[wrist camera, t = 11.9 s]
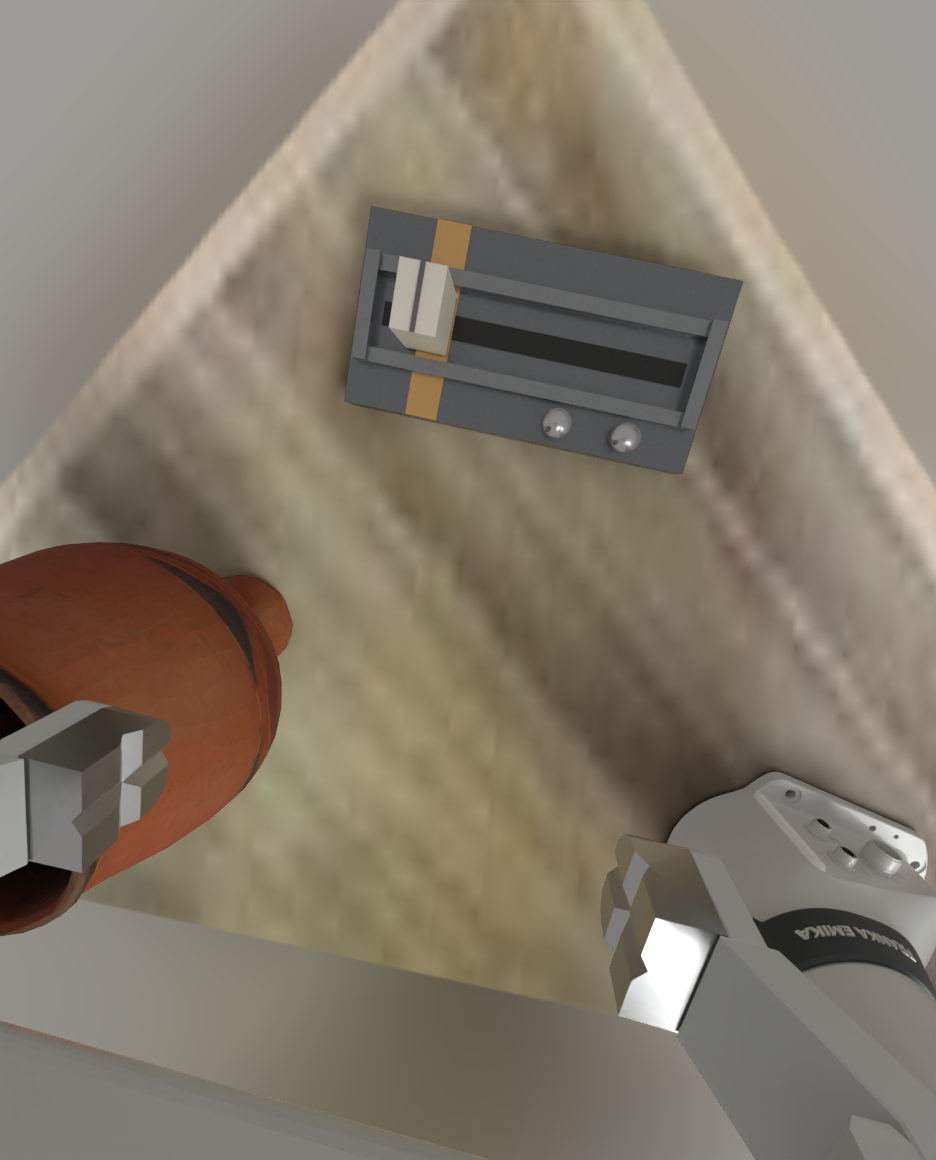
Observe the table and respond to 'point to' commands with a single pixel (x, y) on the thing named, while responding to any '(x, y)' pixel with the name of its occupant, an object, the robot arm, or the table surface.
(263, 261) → the table surface
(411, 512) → the table surface
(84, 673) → the terracotta clay pot
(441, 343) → the fader cap
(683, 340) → the console
